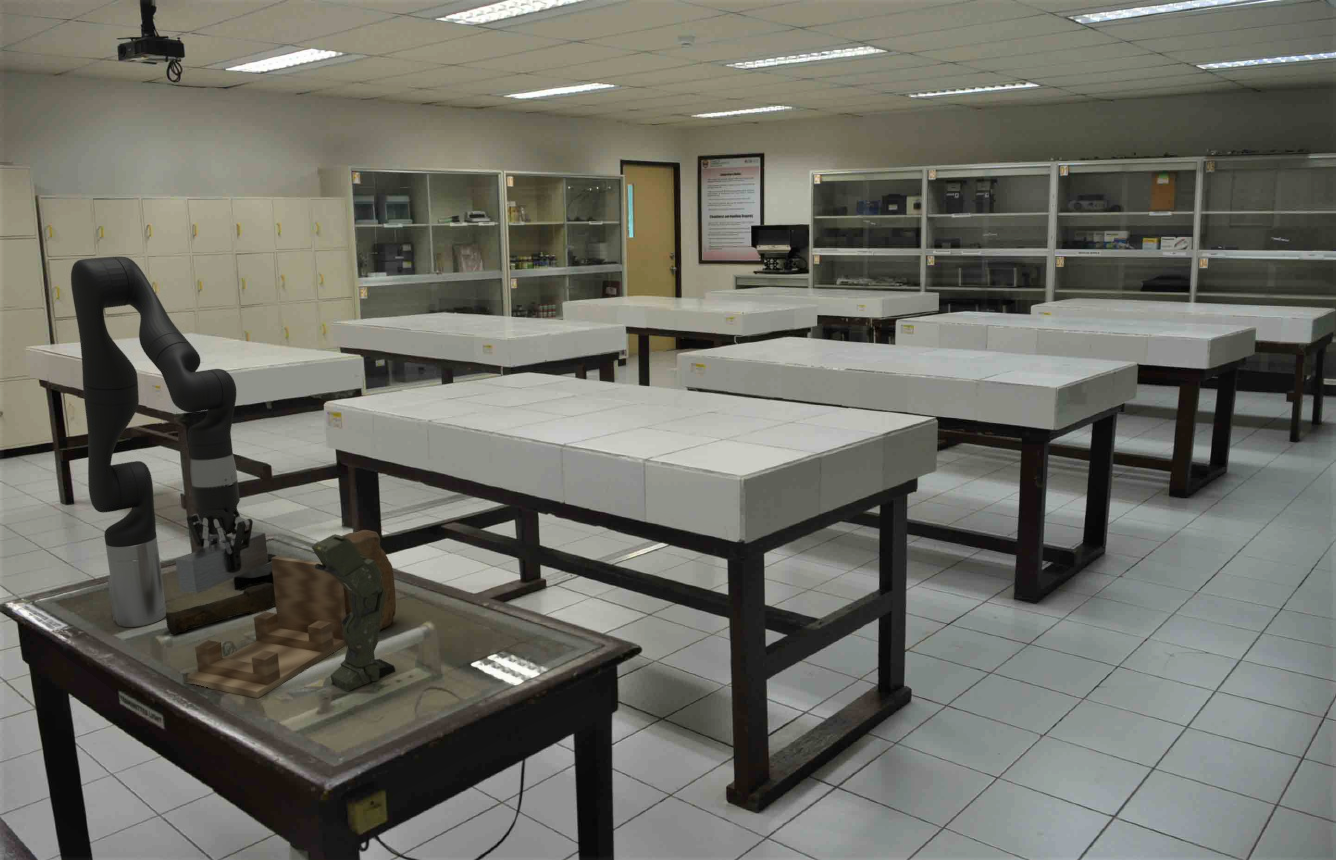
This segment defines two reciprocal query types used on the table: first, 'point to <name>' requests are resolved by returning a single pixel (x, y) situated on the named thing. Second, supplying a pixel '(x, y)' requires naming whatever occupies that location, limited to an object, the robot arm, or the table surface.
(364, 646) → the mechanical leg
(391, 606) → the brown rounded piece
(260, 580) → the cpu cooler
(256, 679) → the post cradle
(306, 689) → the table surface
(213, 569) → the rail
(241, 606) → the dark brown bar
